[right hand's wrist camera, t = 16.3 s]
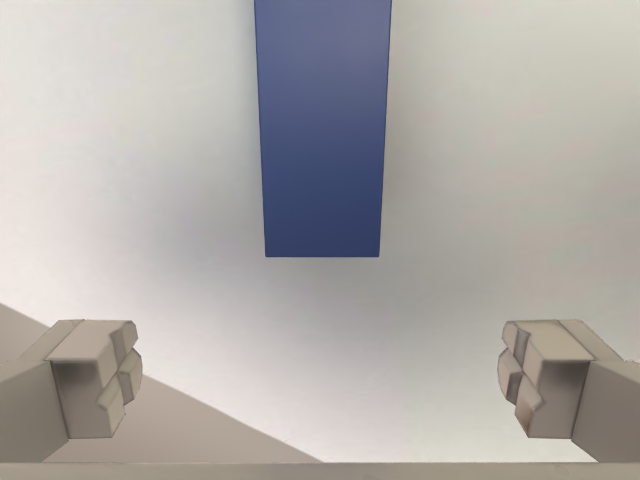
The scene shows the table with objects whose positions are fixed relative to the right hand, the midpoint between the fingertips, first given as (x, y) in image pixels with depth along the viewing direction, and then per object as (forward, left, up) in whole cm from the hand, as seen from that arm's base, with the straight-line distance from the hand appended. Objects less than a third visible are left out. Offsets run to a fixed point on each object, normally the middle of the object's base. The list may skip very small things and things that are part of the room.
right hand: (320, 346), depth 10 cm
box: (+7, -1, -25) cm, 26 cm away
